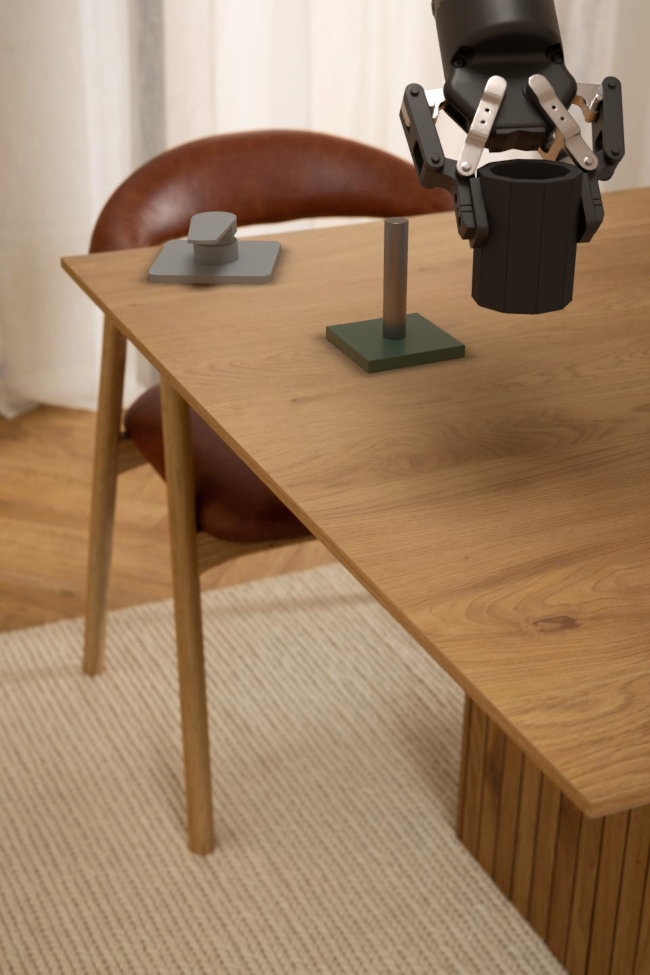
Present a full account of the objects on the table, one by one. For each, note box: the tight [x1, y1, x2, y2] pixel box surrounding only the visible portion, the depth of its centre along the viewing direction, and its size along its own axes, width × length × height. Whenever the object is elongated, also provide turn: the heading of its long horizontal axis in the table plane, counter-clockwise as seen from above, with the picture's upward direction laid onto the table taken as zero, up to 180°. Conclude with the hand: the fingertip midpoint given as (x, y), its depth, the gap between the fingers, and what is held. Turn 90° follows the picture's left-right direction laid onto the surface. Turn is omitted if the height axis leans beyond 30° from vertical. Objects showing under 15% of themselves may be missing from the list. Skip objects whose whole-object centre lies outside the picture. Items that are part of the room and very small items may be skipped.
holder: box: [325, 216, 466, 374], centre depth 100 cm, size 9×9×11 cm
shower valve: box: [147, 210, 282, 285], centre depth 121 cm, size 12×6×15 cm
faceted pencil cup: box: [470, 158, 583, 316], centre depth 72 cm, size 6×6×8 cm
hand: (534, 238), depth 71 cm, fingers closed on faceted pencil cup, 6 cm apart
